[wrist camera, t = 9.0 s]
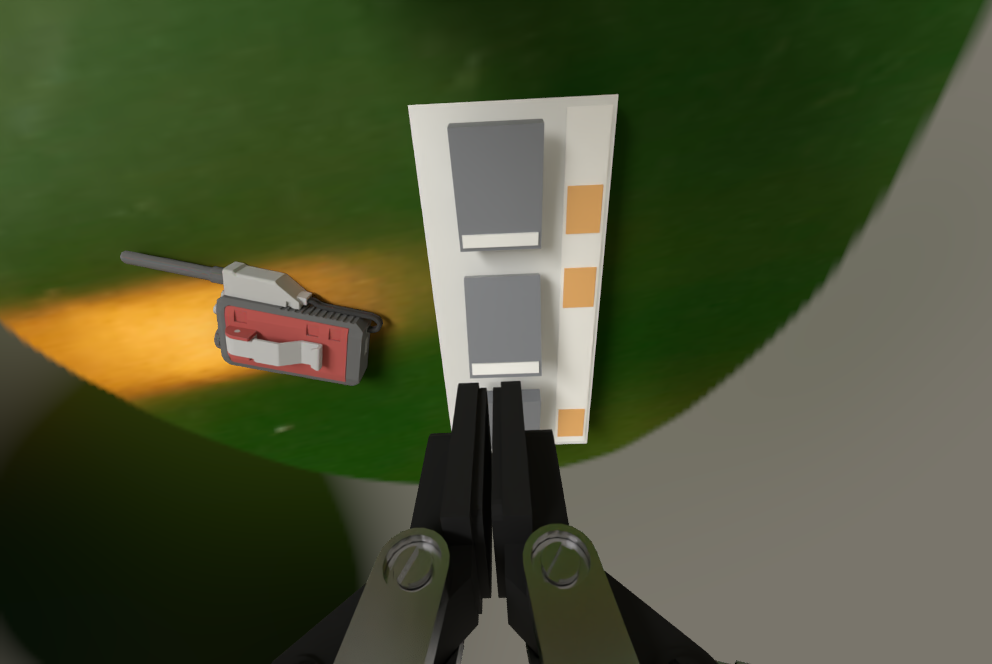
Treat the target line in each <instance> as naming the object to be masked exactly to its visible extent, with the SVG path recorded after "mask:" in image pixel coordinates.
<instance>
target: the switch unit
mask: <svg viewBox="0 0 992 664" xmlns="http://www.w3.org/2000/svg"><path fill="white" fill-rule="evenodd" d="M618 95H619V94H614V95H595V96H576V97H557V98H538V99H519V100H500V101H481V102H462V103H443V104H424V105H408V109H409V117H410V124H411V132H412V139H413V147H414V154H415V162H416V169H417V177H418V184H419V192H420V199H421V206H422V214H423V221H424V229H425V236H426V244H427V251H428V259H429V266H430V274H431V281H432V289H433V296H434V304H435V311H436V318H437V326H438V333H439V341H440V348H441V356H442V363H443V371H444V378H445V386H446V393H447V401H448V408H449V415H450V423H451V430H452V425H453V418H454V410H455V403H456V396H457V388H458V384H459V383H479V388H487V391H491V390H493V387H501V382H503V381H521V389H540V396H541V416H540V430H547V429H552V431H553V435H554V441H555V444H580V443H587V436H588V425H589V414H590V403H591V392H592V381H593V370H594V359H595V348H596V337H597V326H598V315H599V304H600V293H601V282H602V271H603V260H604V249H605V238H606V227H607V216H608V205H609V194H610V183H611V172H612V161H613V150H614V139H615V128H616V117H617V106H618ZM523 119H543V121H544V159H543V199H542V238H541V249H520V250H496V251H473V252H461V251H460V242H459V233H458V224H457V214H456V205H455V196H454V187H453V178H452V169H451V159H450V150H449V141H448V132H447V127H448V125H449V123H464V122H484V121H503V120H523ZM527 273H539V274H540V288H541V356H542V376H529V377H500V378H471V379H470V370H469V354H468V338H467V322H466V306H465V290H464V277H465V276H479V275H503V274H527Z"/></svg>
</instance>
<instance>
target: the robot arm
mask: <svg viewBox="0 0 992 664" xmlns="http://www.w3.org/2000/svg"><path fill="white" fill-rule="evenodd" d="M492 528H493V539H494V551H495V562H496V573H497V584H498V596H499V598H507V610H508V611H507V612H508V624H509V625H510V626H511V627H512V628H513V629H514V630H515V631H516V632H517V634H518V635H519V636H520V637H521V638H522V639H523V640H524V641H525V642H526V651H527V656H528V662H529V664H729V663H724V662H721V661H717V660H714V659H713V658H712V657H711V656H710V655H709V654H708V653H707V652H706V651H704V650H703V649H702V648H701V647H700V646H698V645H697V644H696V643H695V642H693V641H692V640H691V639H690V638H688V637H687V636H686V635H684V634H683V633H682V632H681V631H680V630H678V629H677V628H676V627H675V626H673V625H672V624H671V623H670V622H668V621H667V620H666V619H664V618H663V617H662V616H661V615H659V614H658V613H657V612H656V611H654V610H653V609H652V608H651V607H649V606H648V605H647V604H646V603H644V602H643V601H642V600H641V599H639V598H638V597H637V596H636V595H634V594H633V593H632V592H631V591H629V590H628V589H627V588H626V587H624V586H623V585H622V584H621V583H619V582H618V581H617V580H616V579H614V578H613V577H612V576H610V575H609V574H608V573H607V572H606V571H604V569H603V566H602V564H601V561H600V558H599V556H598V553H597V551H596V549H595V547H594V545H593V544H592V542H591V540H590V539H589V538H588V537H587V536H586V535H585V534H584V533H583V532H581V531H579V530H578V529H576V528H574V527H572V526H569V523H568V517H567V512H566V505H565V500H564V494H563V488H562V482H561V476H560V470H559V464H558V458H557V453H556V447H555V441H554V435H553V431H552V429H547V430H525V425H524V414H523V402H522V391H521V381H503V382H501V387H493V417H492V448H491V435H490V422H489V409H488V396H487V388H479V383H459V384H458V388H457V396H456V403H455V410H454V418H453V425H452V432H451V433H437V434H430V436H429V439H428V443H427V448H426V453H425V458H424V463H423V468H422V473H421V478H420V483H419V488H418V493H417V498H416V503H415V508H414V513H413V518H412V523H411V527H410V529H408V530H406V531H402V532H400V533H399V534H397V535H396V536H394V537H393V538H391V539H390V540H389V541H388V542H387V543H386V544H385V546H384V547H383V548H382V550H381V552H380V553H379V555H378V557H377V559H376V561H375V564H374V566H373V569H372V571H371V573H370V576H369V578H368V581H367V583H366V584H365V585H363V586H362V587H361V588H360V589H359V590H357V591H356V592H355V593H354V594H353V595H352V596H350V597H349V598H348V599H347V600H346V601H344V602H343V603H342V604H341V605H340V606H338V607H337V608H336V609H335V610H334V611H333V612H331V613H330V614H329V615H328V616H327V617H325V618H324V619H323V620H322V621H321V622H319V623H318V624H317V625H316V626H315V627H313V628H312V629H311V630H310V631H309V632H307V633H306V634H305V635H304V636H303V637H302V638H300V639H299V640H298V641H297V642H296V643H295V644H293V645H292V646H291V647H290V648H288V649H287V650H286V651H285V652H284V653H283V654H282V655H280V656H279V657H278V658H277V659H275V660H274V661H273V662H272V663H271V664H461V661H462V656H463V650H464V640H465V639H466V637H467V636H468V635H469V634H470V633H471V632H472V631H473V630H474V629H475V627H476V626H477V625H478V616H479V615H478V614H482V598H491V586H492V585H491V584H492V582H491V580H492ZM735 664H749V663H745V662H741V661H737V660H736V662H735Z"/></svg>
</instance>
